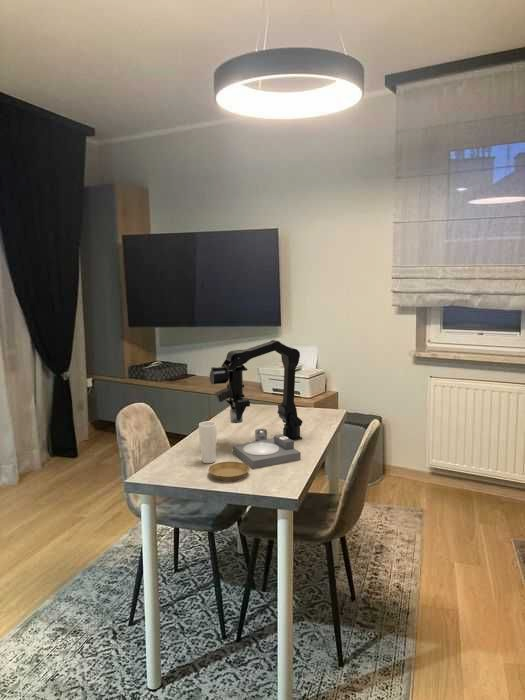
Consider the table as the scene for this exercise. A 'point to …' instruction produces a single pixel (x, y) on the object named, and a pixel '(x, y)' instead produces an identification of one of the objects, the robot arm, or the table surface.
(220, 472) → the plant saucer
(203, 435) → the drinking glass
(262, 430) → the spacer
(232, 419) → the cylinder
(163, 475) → the table surface
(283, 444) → the kitchen scale
